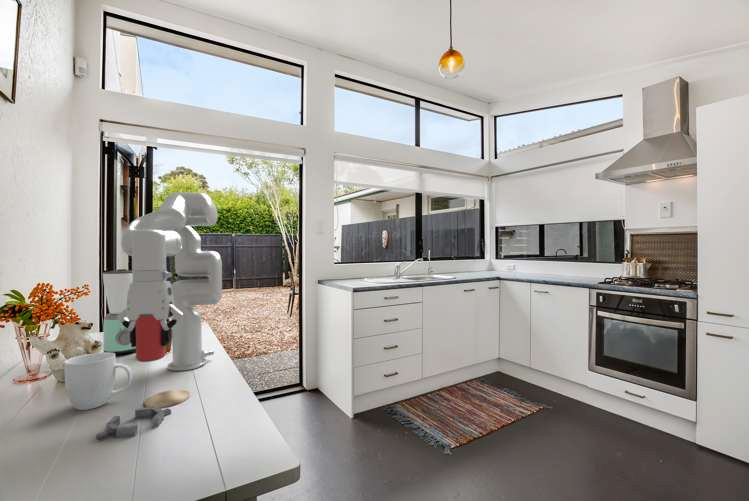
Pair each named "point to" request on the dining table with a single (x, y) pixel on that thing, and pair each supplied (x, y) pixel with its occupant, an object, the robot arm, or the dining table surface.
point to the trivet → (167, 398)
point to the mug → (92, 379)
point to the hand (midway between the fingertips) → (151, 344)
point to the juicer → (116, 312)
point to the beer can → (149, 339)
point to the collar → (131, 430)
